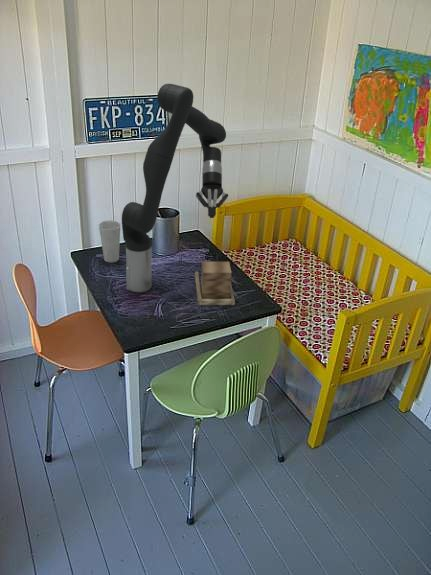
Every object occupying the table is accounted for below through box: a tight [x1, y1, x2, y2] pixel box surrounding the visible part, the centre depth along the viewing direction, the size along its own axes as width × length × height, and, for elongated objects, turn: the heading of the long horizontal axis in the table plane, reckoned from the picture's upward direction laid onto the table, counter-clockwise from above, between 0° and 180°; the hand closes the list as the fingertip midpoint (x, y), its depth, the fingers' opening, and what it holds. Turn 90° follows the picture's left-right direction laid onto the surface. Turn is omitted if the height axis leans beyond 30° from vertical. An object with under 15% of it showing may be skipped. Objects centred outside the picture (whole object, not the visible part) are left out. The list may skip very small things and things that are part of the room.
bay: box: [194, 271, 236, 306], centre depth 206 cm, size 18×21×3 cm
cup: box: [98, 220, 121, 264], centre depth 220 cm, size 8×8×16 cm
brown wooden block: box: [200, 261, 233, 299], centre depth 200 cm, size 10×8×12 cm
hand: (211, 217), depth 208 cm, fingers closed
